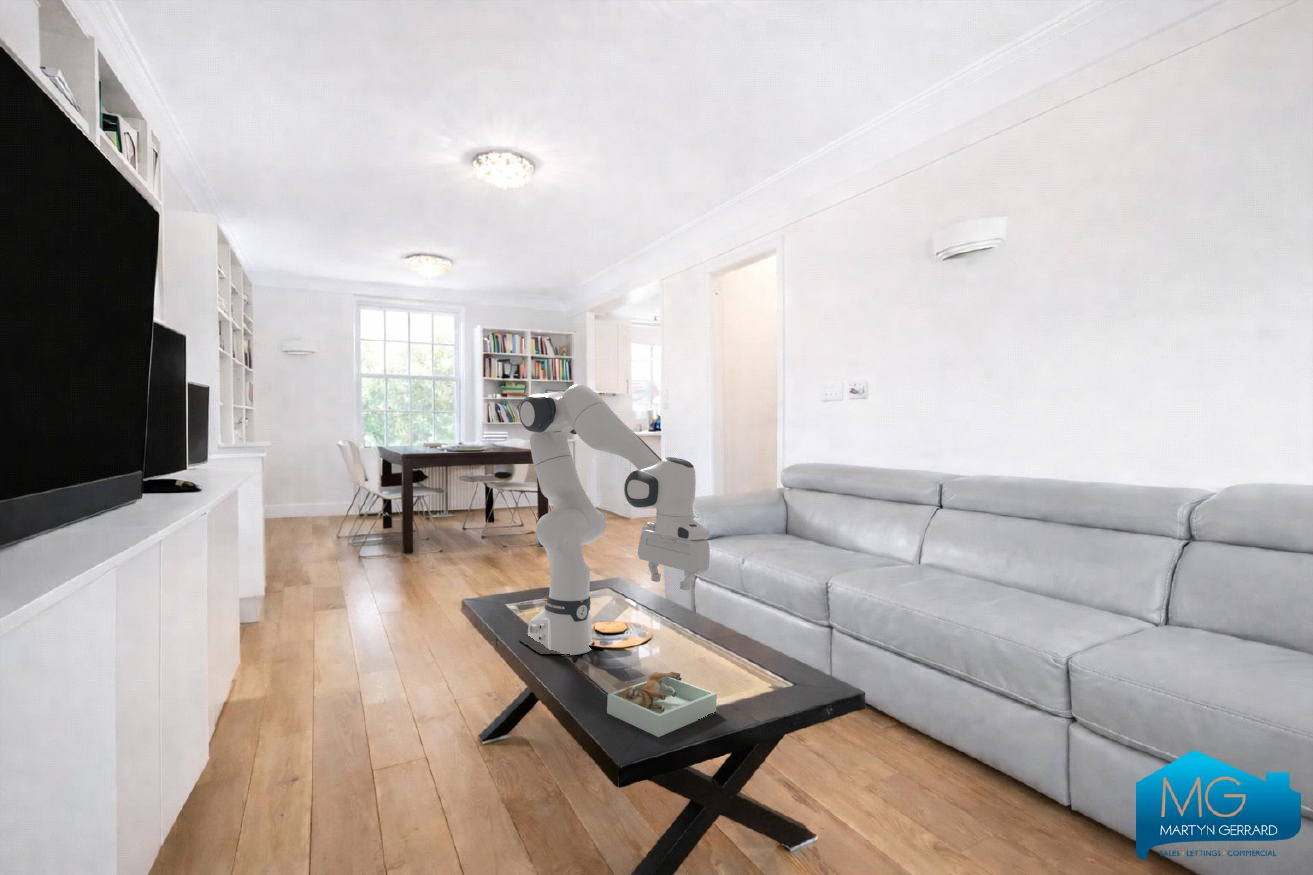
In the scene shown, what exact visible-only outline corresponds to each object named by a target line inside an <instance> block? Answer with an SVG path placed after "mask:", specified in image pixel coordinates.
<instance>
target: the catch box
mask: <svg viewBox="0 0 1313 875" xmlns="http://www.w3.org/2000/svg"><path fill="white" fill-rule="evenodd" d="M661 681H662V682H663V683H664V684H666V685H667V686H671V687H672V688H673V689H674V690H675V692H676V695H675V697H673V696H672V692H671V691H668V690H660V691H659V693H660V694H665V695H666V698H665V700H662V699H660V698H657V697H656V699H654V700H653V702H654V703H655V704H657V705H662V706H664V708H665V709H664V712H663V713H662V712H661V709H652V708H649V707H648V708H644V707H642V706H639V705H637V704H635V703H632V702H630V701H628V700H626V699H623V698H621V693H622V691H623V690H625V689H626V688H628V687H629V688H630V687H632V688H636V689H642V688H643V687H644V686H645V685H646V683H647V680H645V681H643V682H640V683H637V684H634V685H630V686H628V687H625V688H621V689H619V690H615V691H613V692H610V693H607V701H606V702H607V703H606V704H607V706H606V714H608V715H610V716H612V717H614V718H616V719H618V720H620V721H623V722H624V723H627V724H630V725H631V726H634V727H636V728H638V729H640V730H642V731H645V732H646V733H649V734H651V735H652V736H655V737H657V738H660V737H663V736H666V734H667V735H668V734H669V733H672V732H673V731H676V730H678V729H681V728H683V727H685V726H687V725H690V724H693V723H695V722H697V721H699V720H698V719H700V720H702V719H703V717H704V718H706V717H708V716H707V715H708V714H710V713H713V714H715V713H714V712H715V711H716V712H717V699H718V698H717V696H718V694H717V692H713V691H710V690H709V689H708V690H707V689H705V688H702V687H700V686H696V685H694V684H692V683H688V682H686V681H684V680H681V681H679V680H676V679H673V678H670V677H668V678H666V679H663V680H661ZM705 716H706V717H705ZM701 718H702V719H701Z"/></svg>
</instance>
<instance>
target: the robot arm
mask: <svg viewBox="0 0 1313 875" xmlns="http://www.w3.org/2000/svg"><path fill="white" fill-rule="evenodd" d="M518 412H519V413H518V414H519V421H520V422H521V424H522V426H523V428H524V429H525V430H527V431H529V432H531V433H530V435H529V446H530V453H531V459H532V463H533V466H534V470H535V474H536V475H535V476H536V477H537V481H538V484H539V488H540V492H541V494H542V495H543V496H544V497H545V498H546V499H548V500H549V502H550V503H551V504H552V506H553V507H554V509H553V510H551V511H549V512H547V513H545V514H544V515H542V516H541V517H540V518H539V519H538V521H537V523H536V525H535V526H536V527H535V535H536V539H537V541H538V543H539V544H540V545H541V546H542V547H543V549H544V550H545V553H546V556H547V560H548V566H549V591H548V592H549V595H548V596H544V597H543V599H544V600H543V602H545V604H544V608H543V609H542V610H541V611H540V612H539V613H537V614H536V615H535V616H533V617H532V618H531V619H530V620H529V623H528V628H527V634H528V636H530V637H531V638H533V639H534V640H535V641H537V642H540V643H541V644H543V645H544V646H545V647H546V648H548V649H549V650H554V651H557V652H560V653H563V654H570V655H569V656H575V655H581V654H582V655H583V654H585V653H588V652H591V651H592V650H593V649H591V648H590V647H589V643H590V642H591V639H592V638H593V633H592V632H593V630H592V616H591V613H590V610H591V604H592V601H591V597H590V586H591V585H590V584H591V583H590V582H591V569H590V567H589V566H588V564H587V563H586V562H585V558H584V555H583V546H585V545H591V543H592V544H593V543H594V542H595V541H597V540H598V539H599V538H601V537H602V536H603V534H604V532H605V530H606V519H605V517H604V515H603V513H602V512H601V511H600V510H599V509H598V508H596V506H595V505H594V504H593V503H592V501H591V499H590V498H589V496H588V495H587V493H586V491H585V489H584V487H583V485H582V483H581V481H580V478H579V475H578V471H577V469H576V464H575V461H574V459H573V455H572V453H571V448H570V447H569V442H568V438H569V435H570V434H572V435H577V436H578V437H579V438H580V439H581V441H582V442H584V443H585V444H586V445H587V446H588V447H590V448H592V449H594V450H596V451H599V452H600V451H601V452H605V453H609V454H613V455H616V456H619V457H621V458H623V459H625V460H627V461H628V462H630V463H631V464H632V465H633V466H634V467H635V468H636V469H637V470H634V471H631V472H630V473H629V474H628V475H627V477H626V479H625V482H624V486H623V488H624V489H623V490H624V495H625V499H626V501H627V502H628V504H629V505H630V506H632V507H634V508H637V509H643V510H644V509H645V510H646V509H656V510H655V511H656V514H655V522H651V521H647V522H646V523H644V524H643V526H642V528H641V533H640V537H639V542H638V546H637V556H638V559H639V560H642V561H646V562H648V568H649V569H648V570H649V572H650V573H651V574H650V575H651V577H650V581H652V582H655V583H659V582H660V581H661V575H662V574H661V573H659V570H658V567H659V566H660V565H662V566H666V567H669V568H673V569H676V570H681V571H684V574H683V576H685V578H684V579H683V581H680V583H679V585H680V586H679V589H680V590H683V591H689V590H690V589H691V588H690V586H691V582H692V580H693V579H694V577H695V575H698V574H699V575H700V574H704V573H706V572H707V571H708V570H709V568H710V556H711V555H710V553H711V552H710V551H711V550H710V544H709V541H707V540H708V539H709V538H710V535H711V534H710V533H711V532H710V530H709V529H708V528H706V527H705V526H703V525H702V524H700V523H699V522H697V521H696V520H694V515H695V514H694V510H693V506H694V501H695V498H696V487H697V486H696V485H697V484H696V480H697V479H696V469H695V467H694V465H693V463H691V462H690V461H688V460H686V459H683V458H677V457H672V456H671V457H670V456H669V457H663V458H661V457H660V456H659V455H658V454H657V453H656V452H655V451H654V450H653V449H652V448H651V447H650V446H649V445H648V444H647V443H646V442H645V441H644V440H643V439H642V438H640V436H639V435H637V434H636V433H635V432H634V430H632V429H631V428H630V427H629V426H628V425H627V424H626V423H625V422H623V421H622V419H621V418H619V417H618V415H617V414H616V413H615V412H614V411H613V410H612V409H611V407H610V406H609V405H608V404H607V403H606V401H605V400H604V399H603V398H602V397H600V396H599V394H598V393H596V392H595V391H594V390H593V389H591V388H590V387H589V386H588V385H585V384H573V385H571V386H570V387H568V388H567V389H566V390H565V391H562V390H561V391H554V392H545V393H534V394H530V395H528V396H526V397H524V398H523V400H522V401H521V403H520V405H519V411H518Z"/></svg>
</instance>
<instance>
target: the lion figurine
mask: <svg viewBox="0 0 1313 875" xmlns="http://www.w3.org/2000/svg"><path fill="white" fill-rule="evenodd" d="M668 677H670V678H673V679H676V680H679V681H682V677H681V673H679V672H675V671H671V672H652V673H650V674H649V676H648V677H647V678H646V679H647V680H646V681H647V683H646V685H645V686H644V687H643V688H642V689H636V688H632V687H630V686H628V688H627V687H625V688H626V689H625V690H623V691H622V693H621V698H623V699H626V700H628V701H630V702H632V703H635V704H637V705H639V706H642V707H644V708H648V707H649V708H652V709H661V712H662V713H663V712H664V709H665V708H664V706H662V705H657V704H655V703H654V702H653V700H654V699H656V697H657V698H660V699H662V700H665V698H666V695H665V694H660V693H659V691H660V690H668V691H671V692H672V696H673V697H675V695H676V692H675V690H674V689H673V688H672V687H671V686H667V685H666V684H664V683H663V682H662V681H661V680H663V679H666V678H668ZM629 687H630V688H629Z"/></svg>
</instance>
